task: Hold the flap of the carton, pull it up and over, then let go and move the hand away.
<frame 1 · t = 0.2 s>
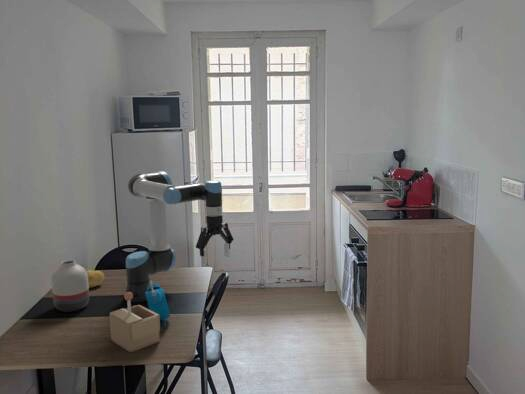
hand: (215, 259, 238), 28 cm above the table, fingers open, 13 cm apart
carton: (135, 340, 219), on the table
flap: (125, 304, 213), point 17 cm above the table, hinge at 0.0°
blue rounded piece: (158, 322, 238), on the table
potato: (91, 287, 285), on the table
vase: (72, 307, 257), on the table
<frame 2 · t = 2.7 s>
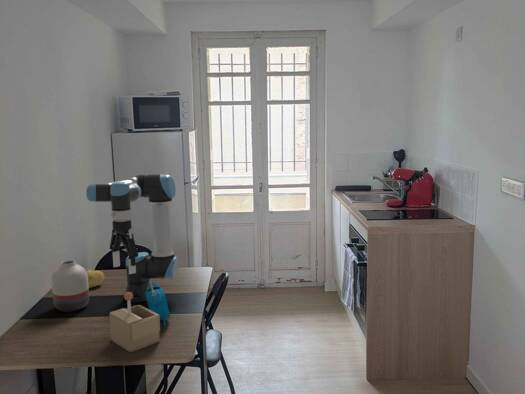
hand: (124, 269, 214), 31 cm above the table, fingers open, 13 cm apart
nothing on the table moved.
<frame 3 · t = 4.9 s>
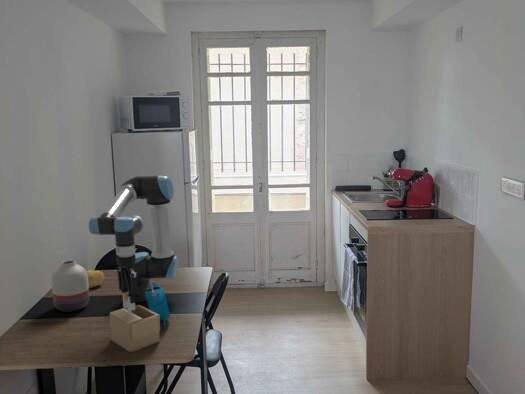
hand: (129, 308, 215), 15 cm above the table, fingers closed on flap, 4 cm apart
flap: (125, 304, 213), point 17 cm above the table, hinge at 0.0°, touching gripper
everything else where it was.
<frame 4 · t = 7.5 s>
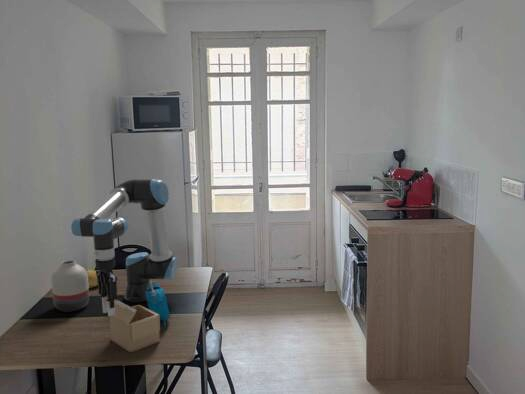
hand: (109, 313, 209), 16 cm above the table, fingers closed on flap, 4 cm apart
flap: (114, 306, 210), point 18 cm above the table, hinge at 46.8°, touching gripper
everything else where it was.
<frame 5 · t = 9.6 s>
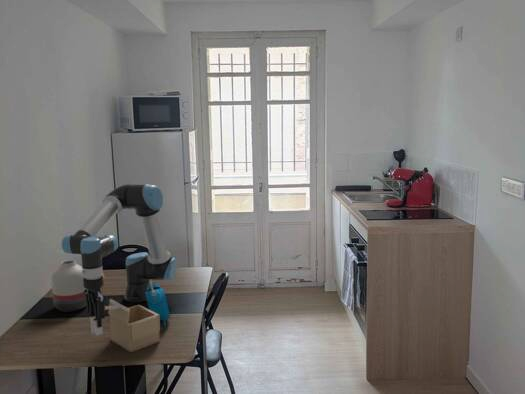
hand: (97, 332, 206), 9 cm above the table, fingers open, 3 cm apart
flap: (108, 311, 208), point 17 cm above the table, hinge at 77.3°
everything else where it was.
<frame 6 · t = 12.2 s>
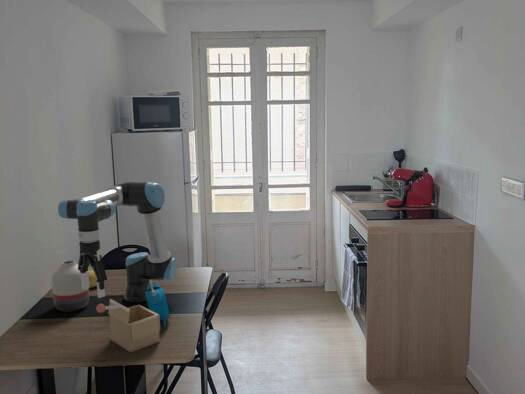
hand: (93, 292, 203), 26 cm above the table, fingers open, 13 cm apart
nothing on the table moved.
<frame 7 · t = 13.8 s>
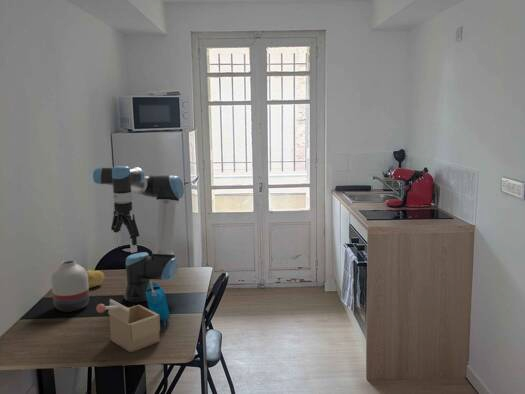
hand: (126, 249, 226), 37 cm above the table, fingers open, 13 cm apart
nothing on the table moved.
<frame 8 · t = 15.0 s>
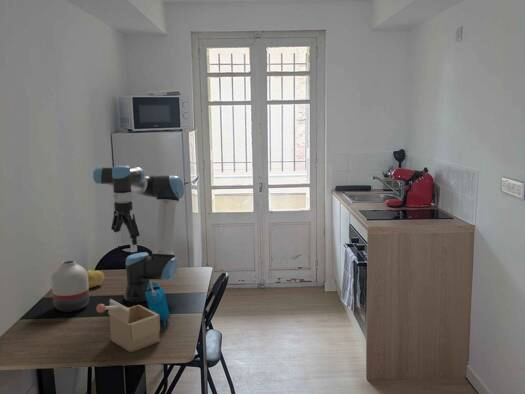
hand: (126, 248, 226), 37 cm above the table, fingers open, 13 cm apart
nothing on the table moved.
at the end: flap at +77° (first picture: +0°); the gripper is holding nothing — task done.
